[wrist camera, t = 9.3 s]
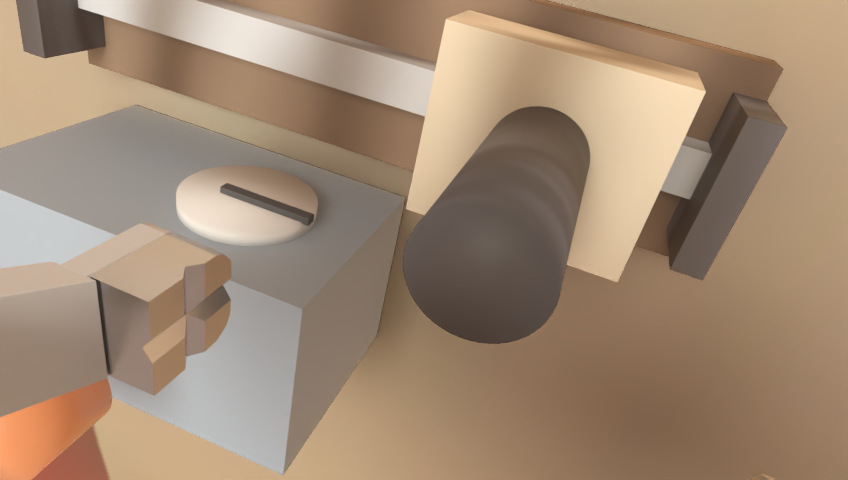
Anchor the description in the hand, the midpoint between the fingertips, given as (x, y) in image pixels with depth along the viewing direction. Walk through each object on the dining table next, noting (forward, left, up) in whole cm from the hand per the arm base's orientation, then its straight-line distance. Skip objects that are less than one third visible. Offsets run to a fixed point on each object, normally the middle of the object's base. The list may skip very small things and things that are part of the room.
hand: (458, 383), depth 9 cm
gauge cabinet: (+12, +9, -15) cm, 22 cm away
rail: (+7, 0, -15) cm, 17 cm away
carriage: (0, 0, -13) cm, 13 cm away
